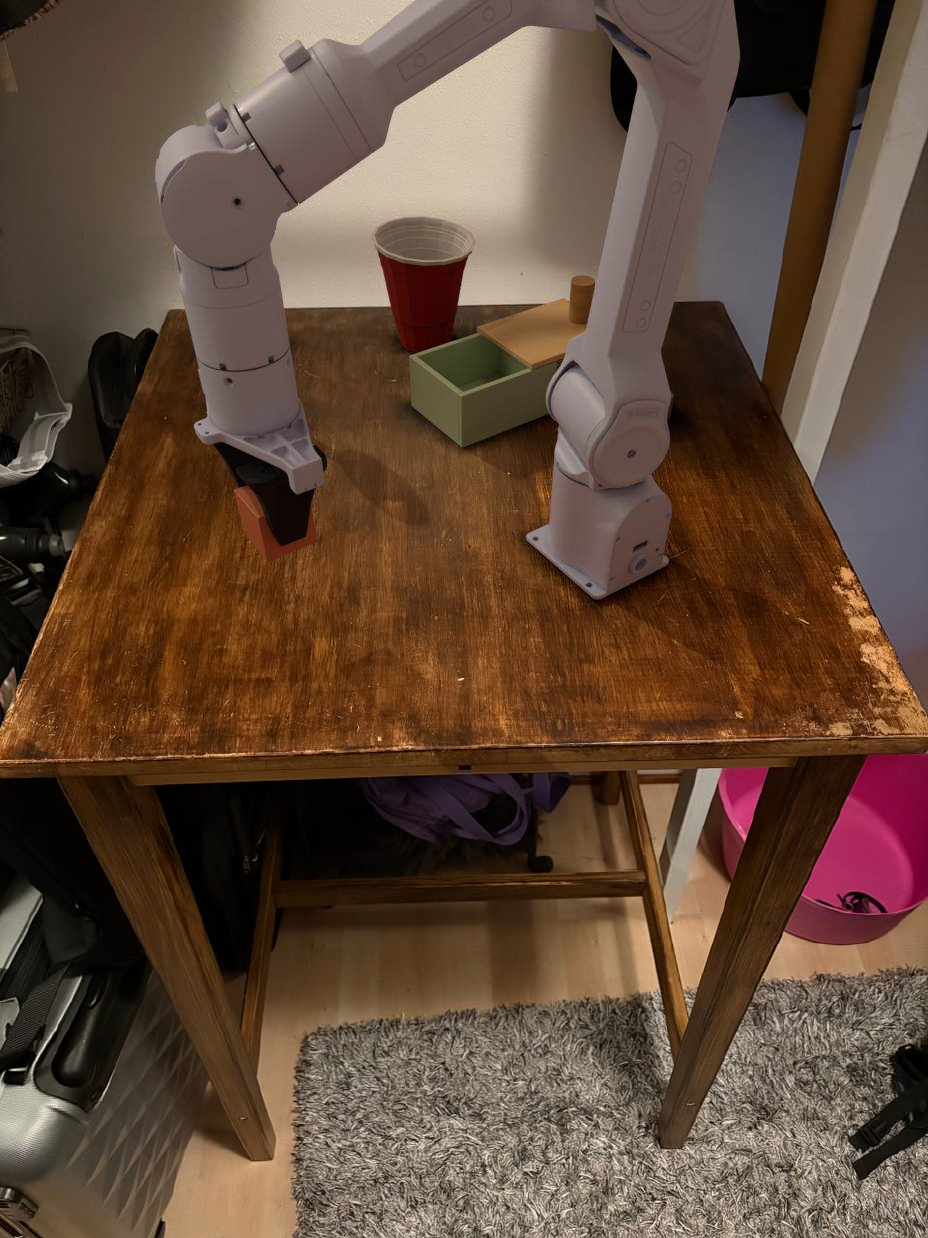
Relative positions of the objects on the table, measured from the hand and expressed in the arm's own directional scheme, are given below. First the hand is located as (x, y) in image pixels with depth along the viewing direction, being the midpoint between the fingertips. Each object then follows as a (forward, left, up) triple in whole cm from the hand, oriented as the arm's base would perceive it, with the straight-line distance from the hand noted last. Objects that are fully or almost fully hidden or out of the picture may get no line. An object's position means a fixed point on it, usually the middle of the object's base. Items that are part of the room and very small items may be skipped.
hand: (277, 522), depth 65 cm
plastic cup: (+31, -32, -9) cm, 45 cm away
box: (+16, -29, -9) cm, 34 cm away
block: (0, 0, -1) cm, 1 cm away
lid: (+16, -37, -3) cm, 40 cm away
